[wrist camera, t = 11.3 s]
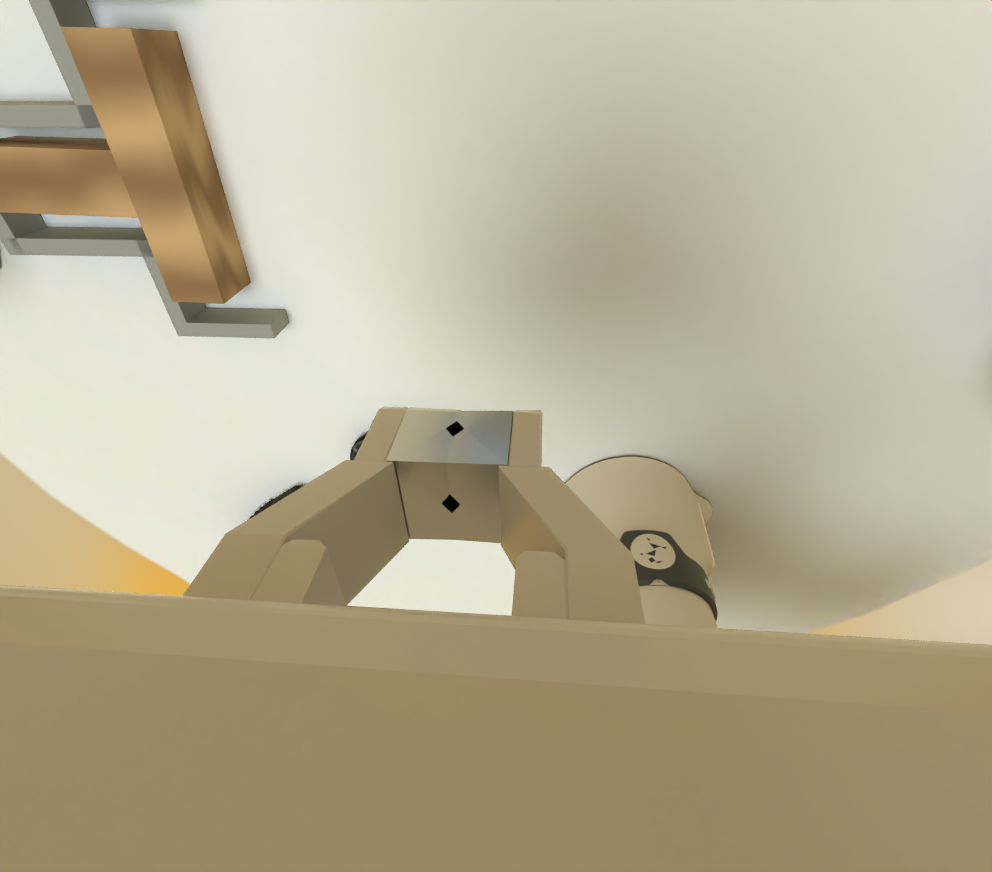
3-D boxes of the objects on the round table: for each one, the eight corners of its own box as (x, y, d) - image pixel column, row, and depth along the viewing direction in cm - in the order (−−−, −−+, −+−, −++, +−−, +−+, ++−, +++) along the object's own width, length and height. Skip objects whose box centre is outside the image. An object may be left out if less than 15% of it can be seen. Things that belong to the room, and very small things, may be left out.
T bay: (289, 322, 42) (274, 338, 40) (83, 317, 43) (57, 333, 41) (187, -33, 29) (156, -41, 26) (-112, -29, 29) (-167, -36, 27)
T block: (250, 282, 40) (223, 303, 37) (87, 275, 41) (45, 295, 37) (176, 31, 30) (129, 28, 27) (-39, 25, 31) (-112, 22, 27)
